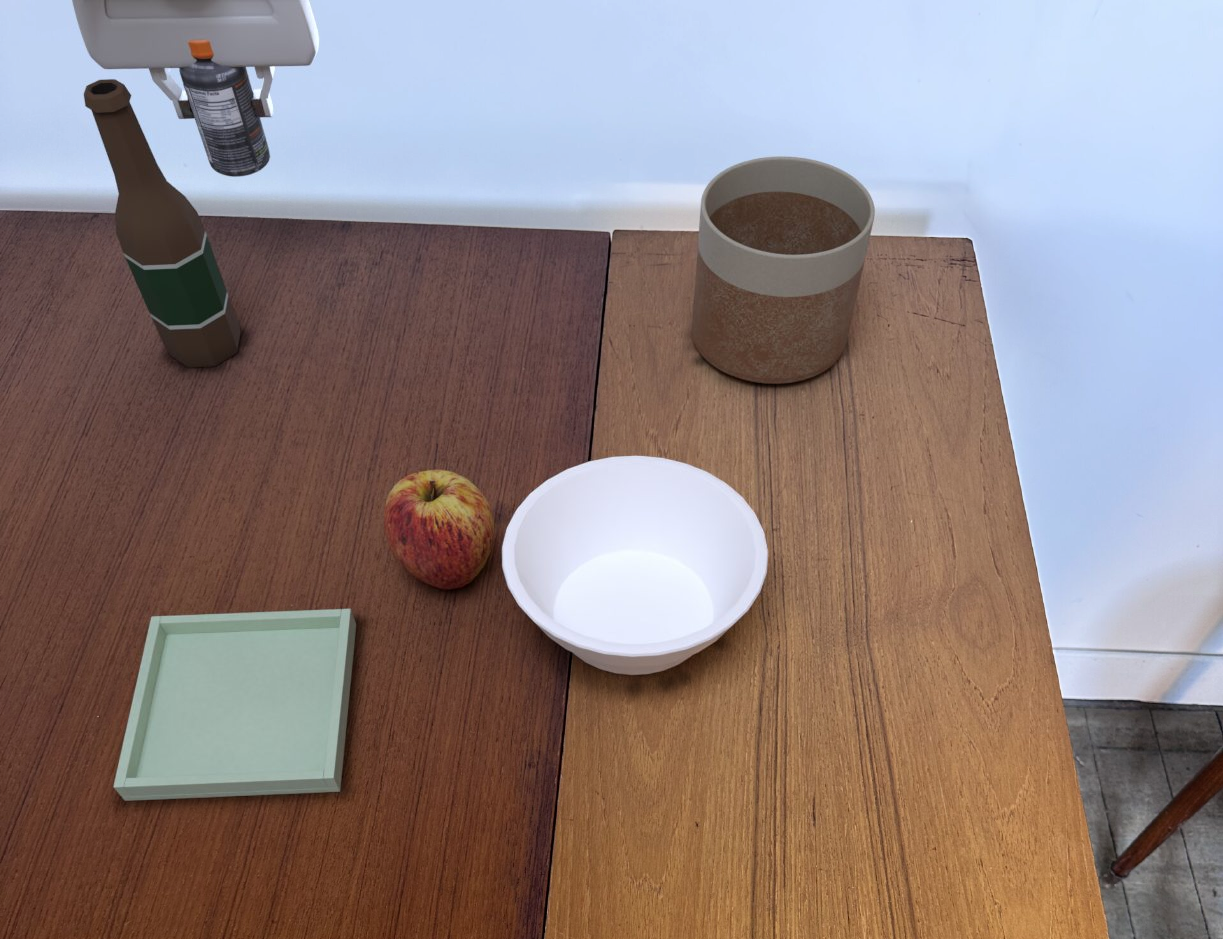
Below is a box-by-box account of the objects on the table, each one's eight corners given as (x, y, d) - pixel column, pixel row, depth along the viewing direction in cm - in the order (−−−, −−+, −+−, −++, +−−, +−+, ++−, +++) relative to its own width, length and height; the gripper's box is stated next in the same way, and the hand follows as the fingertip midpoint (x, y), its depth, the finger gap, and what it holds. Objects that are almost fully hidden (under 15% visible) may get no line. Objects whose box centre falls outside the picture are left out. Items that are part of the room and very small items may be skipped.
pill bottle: (241, 139, 102) (202, 6, 92) (283, 158, 100) (249, 24, 91) (197, 165, 100) (152, 31, 90) (240, 185, 98) (199, 51, 88)
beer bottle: (220, 377, 102) (118, 119, 81) (153, 361, 103) (35, 102, 82) (257, 330, 106) (168, 71, 85) (192, 315, 107) (88, 56, 86)
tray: (124, 801, 78) (112, 787, 76) (161, 632, 86) (151, 616, 84) (340, 791, 78) (333, 777, 77) (356, 624, 86) (350, 608, 85)
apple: (379, 592, 88) (352, 506, 79) (425, 521, 92) (405, 432, 83) (473, 622, 87) (457, 537, 78) (516, 548, 91) (505, 460, 82)
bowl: (782, 698, 83) (798, 633, 75) (526, 734, 81) (518, 671, 74) (726, 512, 93) (735, 440, 85) (497, 541, 91) (487, 470, 84)
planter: (659, 335, 105) (665, 200, 93) (765, 271, 110) (783, 136, 98) (771, 412, 99) (792, 279, 87) (877, 341, 104) (911, 206, 92)
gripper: (301, -85, 86) (338, 95, 98) (58, -82, 86) (125, 99, 98) (293, -51, 83) (333, 130, 95) (41, -48, 83) (113, 135, 95)
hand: (226, 115), depth 96 cm, fingers closed on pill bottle, 6 cm apart
